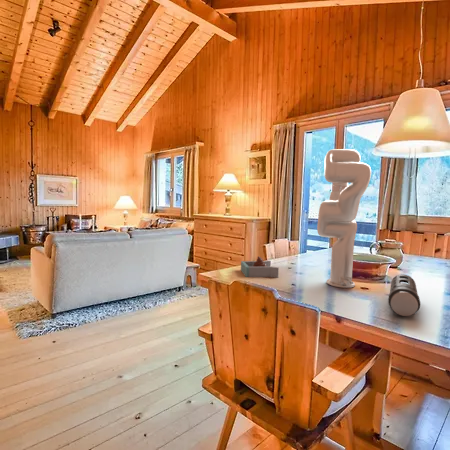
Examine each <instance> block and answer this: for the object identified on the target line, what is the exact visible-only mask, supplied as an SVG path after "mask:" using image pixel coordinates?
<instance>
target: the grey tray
mask: <svg viewBox="0 0 450 450" xmlns="http://www.w3.org/2000/svg"><path fill="white" fill-rule="evenodd" d="M256 261H257V260H241V261H240V271H241V272H242V274H243V275H244V277H245V278H279V272H280V270H279V268H280V267H279V266H271V265H272V264H271V260H263V261H264V263H265V264H266V265H267V267H252V266H253V265H254V263H255V262H256Z"/></svg>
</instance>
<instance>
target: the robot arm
mask: <svg viewBox="0 0 450 450" xmlns="http://www.w3.org/2000/svg"><path fill="white" fill-rule="evenodd" d="M371 177H372V169H371V166H370V165H369V164H367V163H365V162H361V154H360V153H359V152H358V151H357V150H355V149H353V148H352V149H351V148H347V149H346V148H342V149H340V148H339V149H337V148H333V149H329V150H328V151H327V152H326V154H325V157H324V178H325V181H327V182H328V183H332V191H331V192H330V196H329V199H328V200H323V201H322V202H321V204H320V206H319V209H318V218H317V228H316V229H317V234H318V235H319V236H320V237H323V238H336V239H337V240H336V241H334V243H333V245H332V246H331V255H330V256H331V259H330V261H331V262H330V273H329V274H330V275H329V278H328V279H326V284H327V285H330V286H332V287H336V288H342V289H343V288H344V289H346V288H347V289H351V288H354V287H356V283H355V281H353V265H354V264H353V262H354V251H355V250H354V249H355V240H356V236H357V235H356V234H357V231H358V223H357V221H356V217H357V215H358V212H359V211H358V210H359V207H360V201H361V198H362V197H363V195H364V194H365V192H366V190H367V189H368V187H369V184H370V181H371Z"/></svg>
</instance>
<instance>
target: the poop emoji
mask: <svg viewBox="0 0 450 450" xmlns="http://www.w3.org/2000/svg"><path fill="white" fill-rule="evenodd" d="M255 261H256V262H255V263H254V265H253V266H252V267H267V265H266V264H265V263H264V261H265V260H263V257H261V256H257V259H256V260H255Z"/></svg>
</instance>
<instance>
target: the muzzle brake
mask: <svg viewBox="0 0 450 450" xmlns="http://www.w3.org/2000/svg"><path fill="white" fill-rule="evenodd" d="M390 282H391V283H390V289H389V290H390V291H389V294H388V299H387V300H388V305H389V308H390V309H391V311H393V312H394V313H395V314H397V315H399V316H401V317H411V316H413V315H415V314H417V313H418V312H419V310H420V307H421V300H420V296H419V293H418V289H417V285H416V281H415V280H414V279H413V278H412V277H411V276H409V275H408V274H402V273H401V274H397V275H395V276H394V277H393V278H392V279H391V281H390Z"/></svg>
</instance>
